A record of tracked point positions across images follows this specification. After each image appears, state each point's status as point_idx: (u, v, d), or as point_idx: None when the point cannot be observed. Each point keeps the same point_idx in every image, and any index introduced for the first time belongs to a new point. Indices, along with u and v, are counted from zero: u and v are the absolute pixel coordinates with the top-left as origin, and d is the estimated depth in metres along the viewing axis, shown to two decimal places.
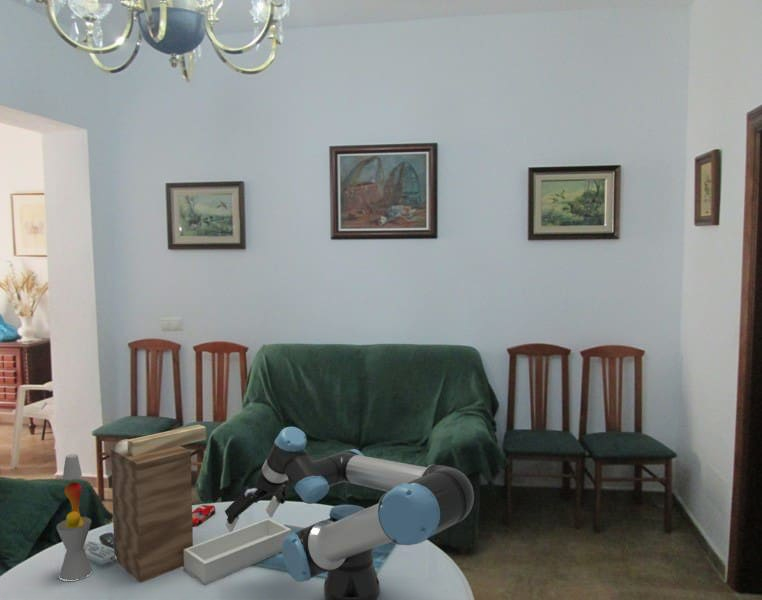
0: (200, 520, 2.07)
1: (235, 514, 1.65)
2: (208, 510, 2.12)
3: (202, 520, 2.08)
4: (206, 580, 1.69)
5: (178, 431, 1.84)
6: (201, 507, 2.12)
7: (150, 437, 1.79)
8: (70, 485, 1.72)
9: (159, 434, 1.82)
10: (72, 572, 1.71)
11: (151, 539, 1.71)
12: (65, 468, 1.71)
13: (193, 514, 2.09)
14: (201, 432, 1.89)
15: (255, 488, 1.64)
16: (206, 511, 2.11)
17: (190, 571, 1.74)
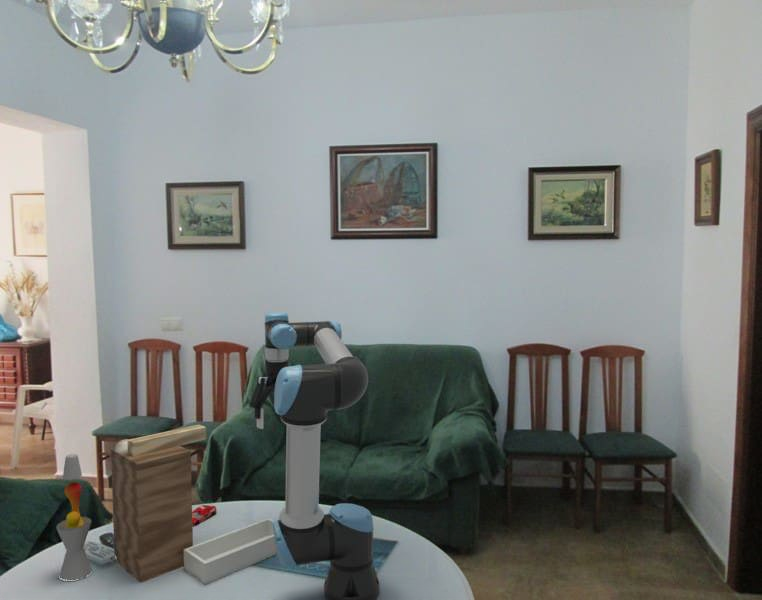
0: (198, 520, 2.07)
1: (258, 405, 1.92)
2: (208, 510, 2.12)
3: (200, 520, 2.08)
4: (206, 580, 1.69)
5: (178, 431, 1.84)
6: (201, 507, 2.12)
7: (150, 437, 1.79)
8: (70, 485, 1.72)
9: (159, 434, 1.82)
10: (72, 572, 1.71)
11: (151, 539, 1.71)
12: (65, 468, 1.71)
13: (192, 514, 2.09)
14: (201, 432, 1.89)
15: (266, 377, 1.94)
16: (205, 511, 2.11)
17: (190, 571, 1.74)
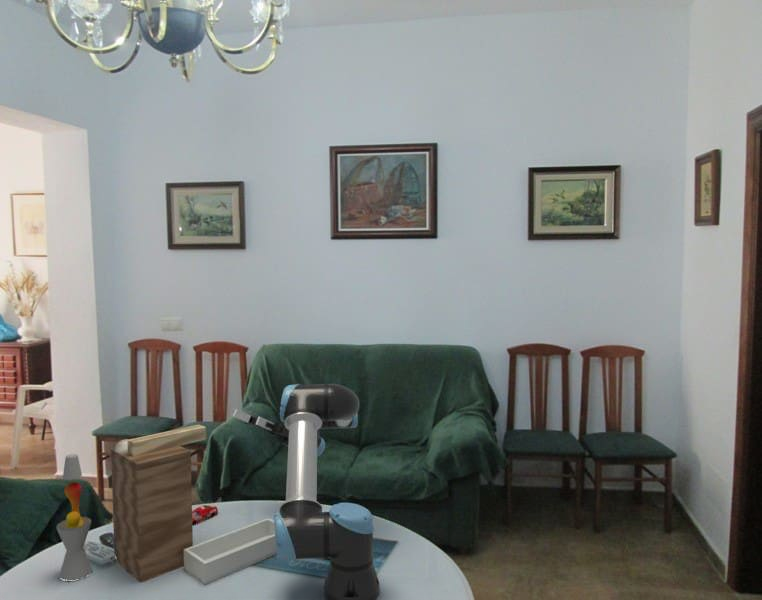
0: (195, 520, 2.07)
1: None
2: (207, 511, 2.11)
3: (198, 520, 2.08)
4: (206, 580, 1.69)
5: (178, 431, 1.84)
6: (201, 507, 2.12)
7: (150, 437, 1.79)
8: (70, 485, 1.72)
9: (159, 434, 1.82)
10: (72, 572, 1.71)
11: (151, 539, 1.71)
12: (65, 468, 1.71)
13: None
14: (201, 432, 1.89)
15: None
16: (204, 512, 2.10)
17: (190, 571, 1.74)
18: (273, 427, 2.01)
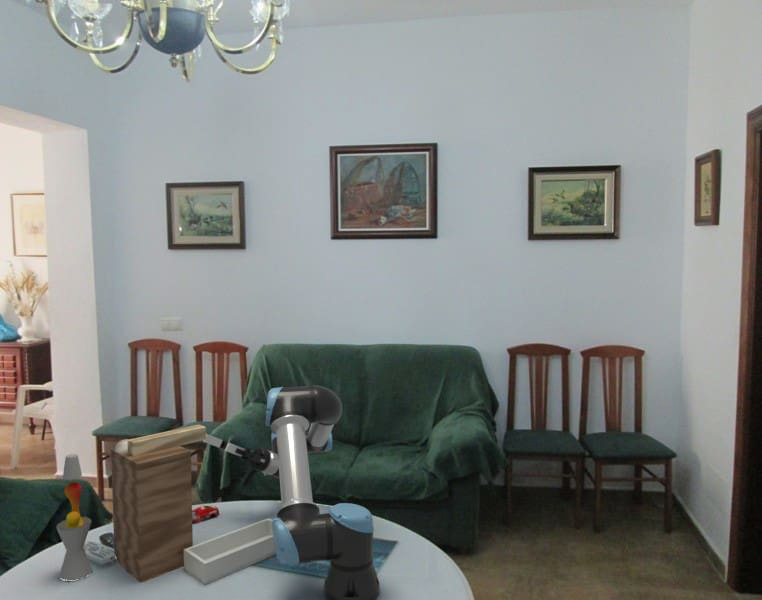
0: (193, 520, 2.07)
1: (223, 441, 2.06)
2: (207, 512, 2.11)
3: (196, 521, 2.08)
4: (206, 580, 1.69)
5: (178, 431, 1.84)
6: (202, 507, 2.12)
7: (150, 437, 1.79)
8: (70, 485, 1.72)
9: (159, 434, 1.82)
10: (72, 572, 1.71)
11: (151, 539, 1.71)
12: (65, 468, 1.71)
13: None
14: (201, 432, 1.89)
15: None
16: (203, 512, 2.10)
17: (190, 571, 1.74)
18: (243, 453, 1.93)
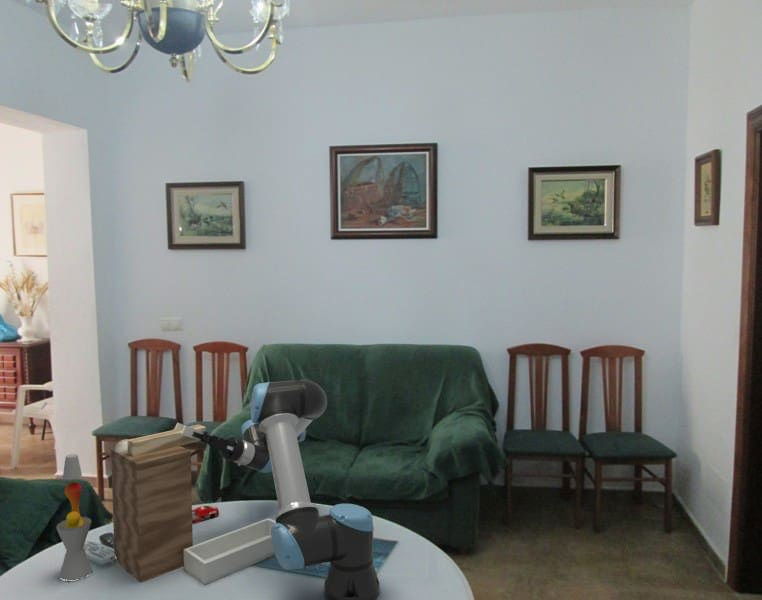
0: (192, 520, 2.07)
1: None
2: (206, 512, 2.11)
3: (195, 520, 2.08)
4: (206, 580, 1.69)
5: (178, 431, 1.84)
6: (201, 507, 2.12)
7: (150, 437, 1.79)
8: (70, 485, 1.72)
9: (159, 434, 1.82)
10: (72, 572, 1.71)
11: (151, 539, 1.71)
12: (65, 468, 1.71)
13: None
14: None
15: None
16: (203, 512, 2.10)
17: (190, 571, 1.74)
18: (201, 437, 1.87)
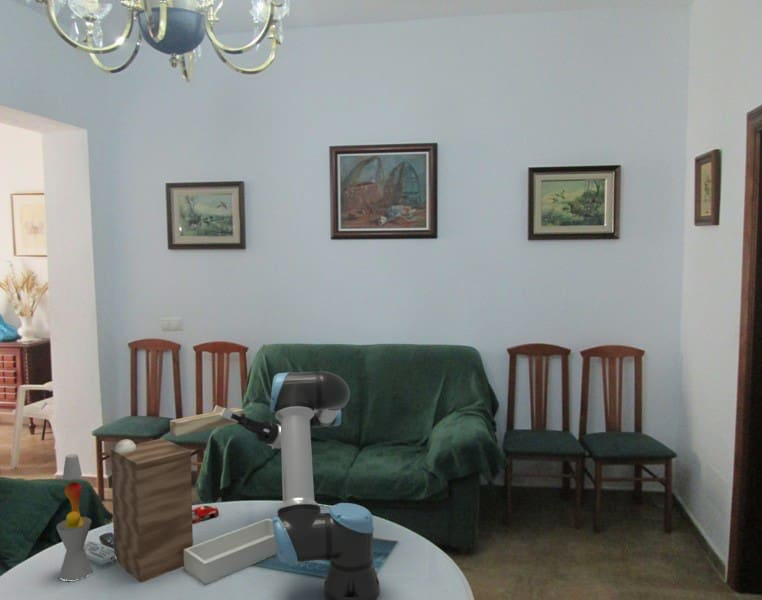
0: None
1: None
2: (206, 512, 2.11)
3: (195, 520, 2.08)
4: (206, 580, 1.69)
5: (217, 413, 1.90)
6: (201, 507, 2.12)
7: (191, 418, 1.84)
8: (70, 485, 1.72)
9: (199, 415, 1.87)
10: (72, 572, 1.71)
11: (151, 539, 1.71)
12: (65, 468, 1.71)
13: None
14: None
15: None
16: (202, 512, 2.10)
17: (190, 571, 1.74)
18: (239, 419, 1.92)
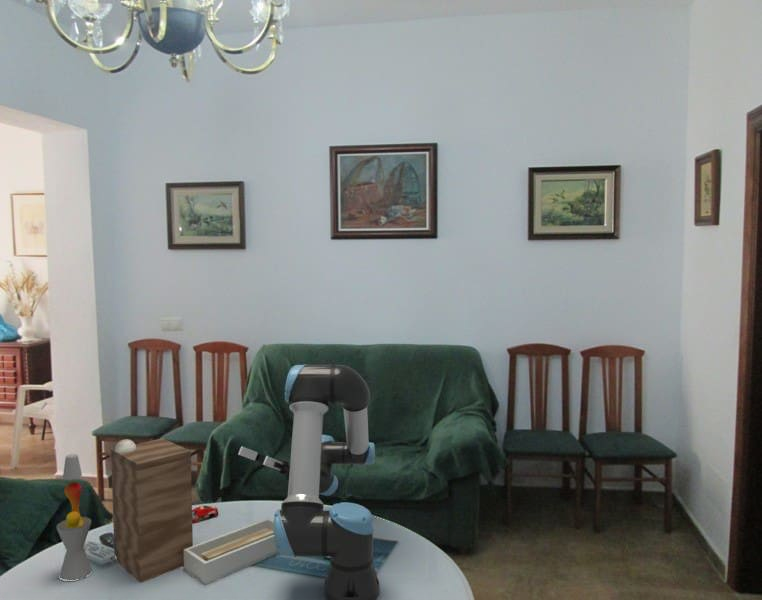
0: None
1: None
2: (205, 512, 2.11)
3: (194, 520, 2.08)
4: (206, 580, 1.69)
5: (248, 540, 1.84)
6: (201, 507, 2.12)
7: (223, 548, 1.79)
8: (70, 485, 1.72)
9: (230, 544, 1.82)
10: (72, 572, 1.71)
11: (151, 539, 1.71)
12: (65, 468, 1.71)
13: None
14: None
15: None
16: (202, 512, 2.10)
17: (190, 571, 1.74)
18: (282, 467, 1.83)
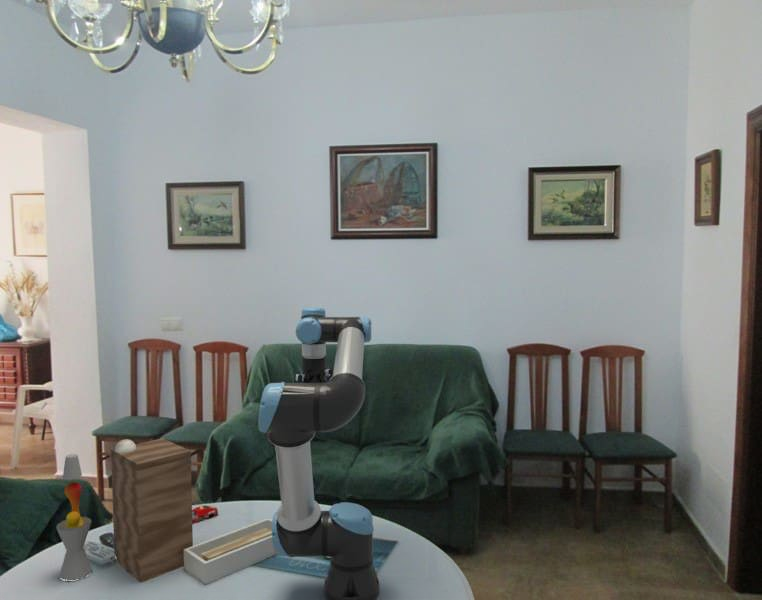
0: None
1: None
2: (205, 512, 2.11)
3: (194, 520, 2.08)
4: (206, 580, 1.69)
5: (248, 540, 1.84)
6: (200, 507, 2.12)
7: (223, 548, 1.79)
8: (70, 485, 1.72)
9: (230, 544, 1.82)
10: (72, 572, 1.71)
11: (151, 539, 1.71)
12: (65, 468, 1.71)
13: None
14: None
15: (303, 374, 1.88)
16: (202, 512, 2.10)
17: (190, 571, 1.74)
18: None
